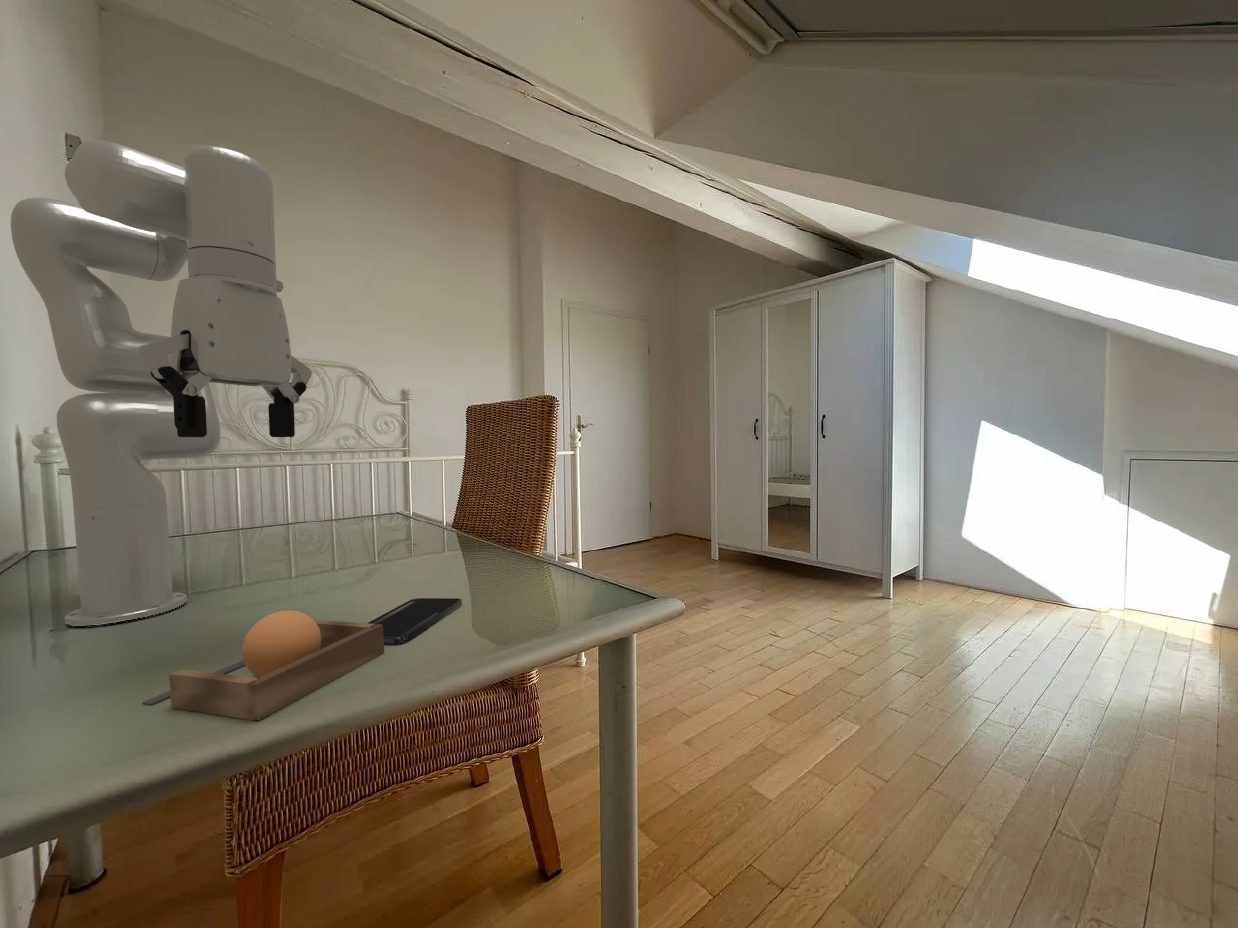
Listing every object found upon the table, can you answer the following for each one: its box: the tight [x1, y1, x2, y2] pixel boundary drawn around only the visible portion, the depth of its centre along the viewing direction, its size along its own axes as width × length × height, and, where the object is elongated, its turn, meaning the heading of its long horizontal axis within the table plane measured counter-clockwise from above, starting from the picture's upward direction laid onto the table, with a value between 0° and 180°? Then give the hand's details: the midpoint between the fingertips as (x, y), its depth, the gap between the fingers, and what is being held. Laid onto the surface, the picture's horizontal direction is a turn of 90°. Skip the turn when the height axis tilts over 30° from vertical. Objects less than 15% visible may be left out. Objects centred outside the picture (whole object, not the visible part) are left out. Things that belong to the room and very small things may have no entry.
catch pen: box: [168, 619, 385, 721], centre depth 49 cm, size 10×14×3 cm
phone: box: [366, 597, 463, 646], centre depth 64 cm, size 8×1×15 cm
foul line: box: [142, 659, 246, 706], centre depth 51 cm, size 1×14×1 cm, turn 164°
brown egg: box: [241, 609, 321, 678], centre depth 49 cm, size 6×6×6 cm
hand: (240, 437), depth 55 cm, fingers open, 9 cm apart
